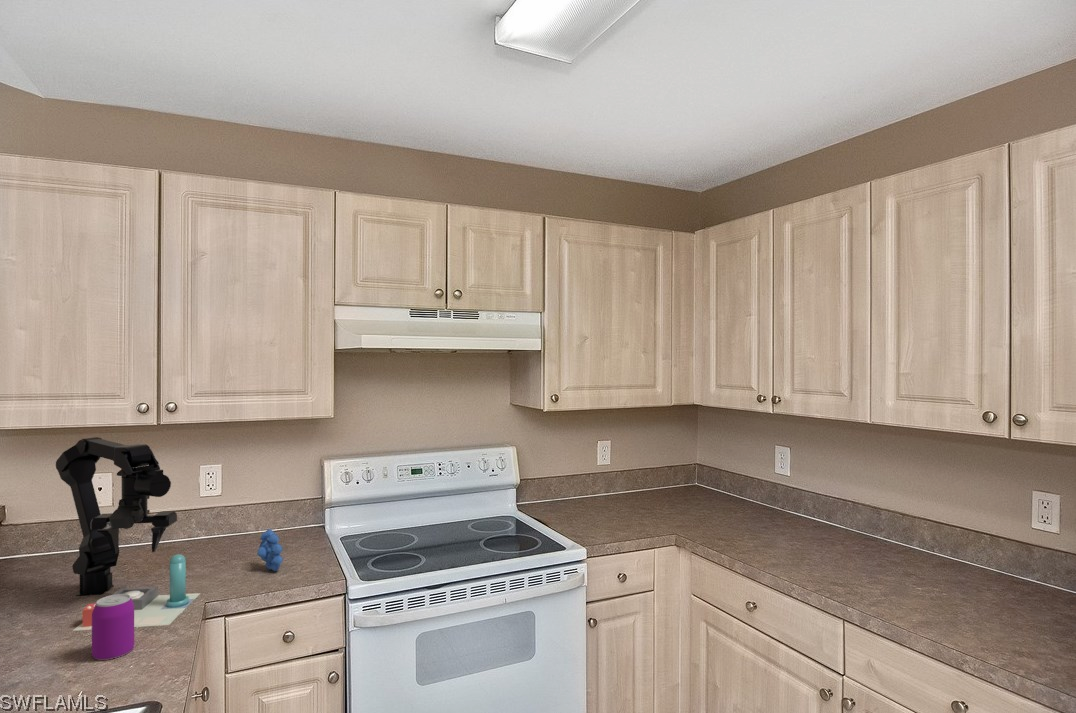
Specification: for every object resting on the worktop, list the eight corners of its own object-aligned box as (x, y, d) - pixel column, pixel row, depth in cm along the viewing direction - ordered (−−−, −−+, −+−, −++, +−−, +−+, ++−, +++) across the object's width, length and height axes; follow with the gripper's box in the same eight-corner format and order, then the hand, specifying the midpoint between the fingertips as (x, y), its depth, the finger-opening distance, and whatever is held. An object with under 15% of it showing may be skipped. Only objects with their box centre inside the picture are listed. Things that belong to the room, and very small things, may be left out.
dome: (113, 606, 160) (113, 598, 160) (124, 597, 165) (124, 590, 165) (137, 604, 161) (137, 597, 161) (147, 596, 166) (147, 588, 166)
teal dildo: (165, 609, 159) (165, 558, 159) (167, 602, 164) (167, 553, 164) (188, 605, 162) (188, 556, 162) (189, 598, 166) (189, 550, 166)
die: (82, 627, 149) (82, 608, 149) (88, 620, 153) (88, 602, 153) (102, 624, 150) (102, 606, 150) (107, 618, 154) (107, 600, 154)
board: (72, 632, 147) (72, 630, 147) (115, 599, 167) (115, 597, 167) (168, 626, 150) (168, 624, 150) (200, 594, 170) (200, 593, 170)
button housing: (103, 611, 158) (103, 601, 158) (121, 598, 167) (121, 588, 167) (141, 609, 159) (141, 599, 159) (157, 596, 168) (157, 586, 168)
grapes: (248, 568, 190) (248, 529, 190) (270, 563, 195) (270, 524, 195) (265, 578, 183) (265, 537, 182) (288, 572, 188) (288, 532, 187)
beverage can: (142, 645, 141) (141, 592, 140) (120, 662, 133) (120, 606, 133) (107, 646, 140) (106, 592, 140) (83, 663, 133) (83, 606, 133)
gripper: (77, 501, 155) (78, 564, 155) (159, 499, 158) (159, 561, 158) (101, 492, 166) (102, 550, 166) (177, 489, 169) (177, 547, 169)
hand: (134, 552), depth 165 cm, fingers open, 9 cm apart
